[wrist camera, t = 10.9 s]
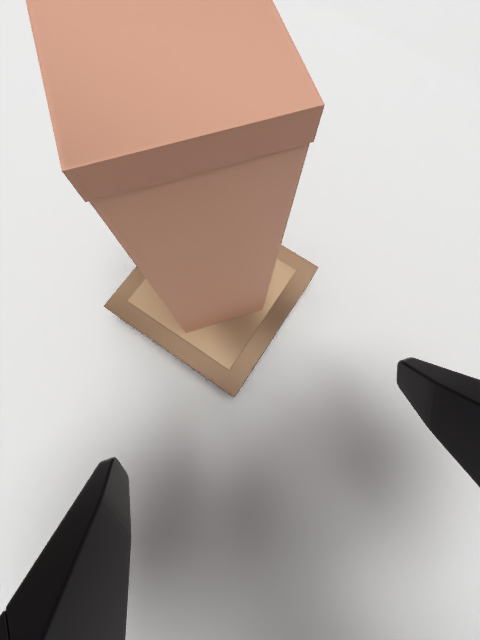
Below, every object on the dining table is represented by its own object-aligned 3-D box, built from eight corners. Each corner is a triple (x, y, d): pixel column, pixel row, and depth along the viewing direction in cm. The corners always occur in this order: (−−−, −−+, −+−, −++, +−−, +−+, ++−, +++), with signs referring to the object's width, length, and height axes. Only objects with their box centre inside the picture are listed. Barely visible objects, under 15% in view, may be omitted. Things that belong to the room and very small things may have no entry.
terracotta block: (263, 309, 17) (324, 104, 5) (185, 334, 17) (61, 170, 5) (238, 240, 19) (242, -59, 7) (164, 261, 18) (22, -16, 6)
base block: (234, 397, 19) (234, 396, 16) (119, 317, 20) (102, 305, 17) (309, 282, 21) (319, 266, 18) (200, 216, 22) (195, 192, 19)
